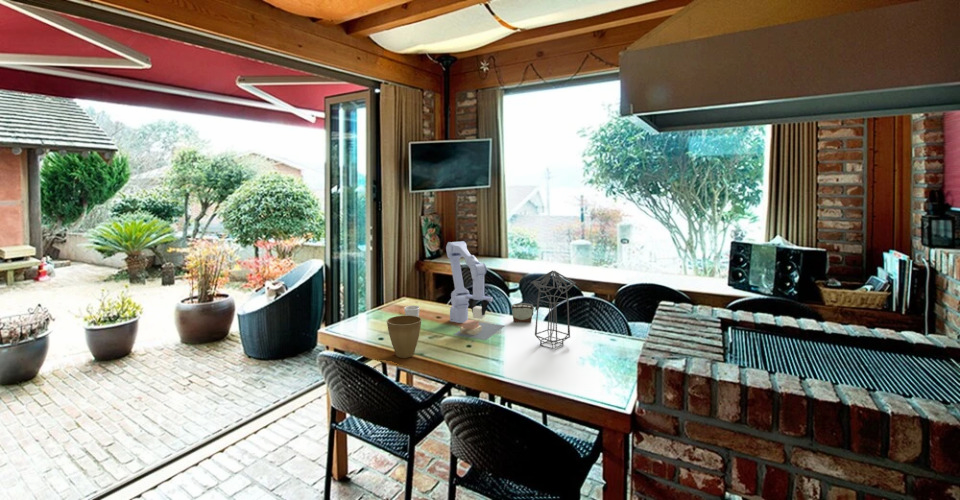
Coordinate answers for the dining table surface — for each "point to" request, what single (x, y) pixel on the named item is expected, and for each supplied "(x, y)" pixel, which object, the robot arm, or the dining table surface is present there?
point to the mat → (483, 331)
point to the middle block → (470, 324)
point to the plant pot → (404, 334)
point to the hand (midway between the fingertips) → (478, 314)
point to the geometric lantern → (551, 304)
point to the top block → (478, 312)
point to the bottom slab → (471, 330)
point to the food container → (522, 312)
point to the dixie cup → (412, 310)
